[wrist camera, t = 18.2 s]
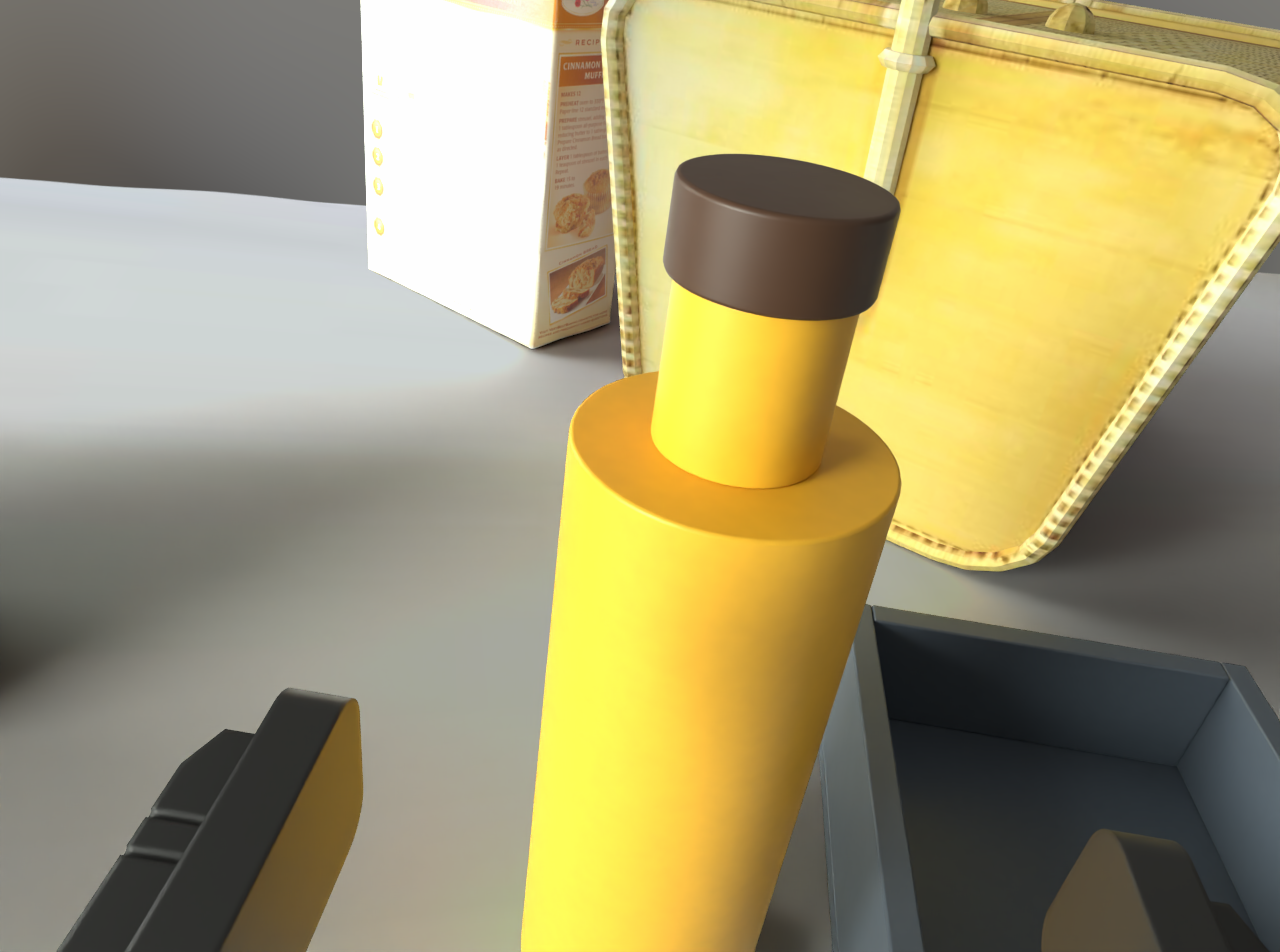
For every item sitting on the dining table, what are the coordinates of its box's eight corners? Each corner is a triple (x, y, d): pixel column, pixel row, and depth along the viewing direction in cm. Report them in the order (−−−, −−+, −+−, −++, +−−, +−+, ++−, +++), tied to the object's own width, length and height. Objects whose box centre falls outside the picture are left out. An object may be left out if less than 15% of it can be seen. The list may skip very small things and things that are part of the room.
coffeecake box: (614, 323, 58) (656, -37, 48) (530, 353, 53) (557, -41, 43) (450, 249, 65) (456, -77, 55) (363, 269, 60) (352, -85, 50)
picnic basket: (802, 282, 69) (917, -233, 53) (1184, 408, 58) (1472, -191, 42) (548, 420, 47) (612, -380, 31) (1081, 664, 36) (1596, -373, 20)
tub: (841, 1097, 22) (894, 986, 20) (815, 703, 33) (846, 599, 30) (1393, 1196, 22) (1516, 1095, 19) (1183, 765, 32) (1245, 665, 30)
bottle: (476, 918, 25) (516, 142, 14) (647, 812, 28) (779, 125, 18) (616, 1118, 21) (803, 277, 11) (792, 969, 24) (1061, 223, 14)
